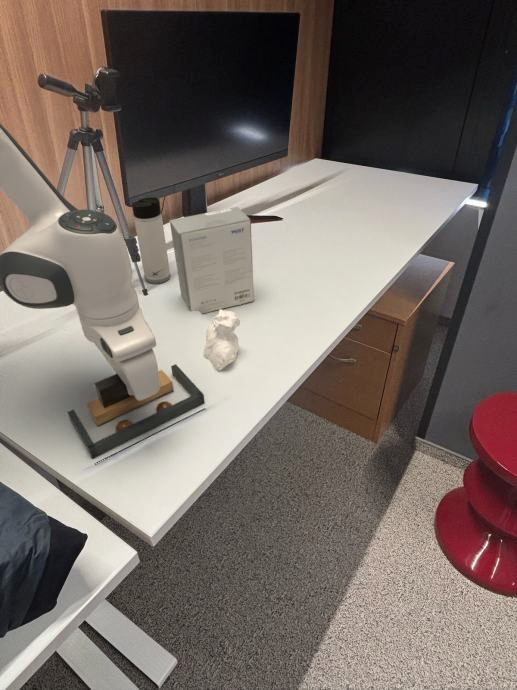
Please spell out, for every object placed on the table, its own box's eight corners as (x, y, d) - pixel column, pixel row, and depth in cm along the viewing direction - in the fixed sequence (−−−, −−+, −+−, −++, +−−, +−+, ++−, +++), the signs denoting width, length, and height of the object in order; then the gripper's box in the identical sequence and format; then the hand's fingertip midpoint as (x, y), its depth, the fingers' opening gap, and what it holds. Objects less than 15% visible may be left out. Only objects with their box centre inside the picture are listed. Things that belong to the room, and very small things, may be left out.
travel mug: (161, 286, 116) (148, 207, 104) (139, 280, 119) (124, 201, 106) (176, 275, 120) (166, 197, 108) (155, 269, 123) (143, 192, 111)
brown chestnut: (117, 430, 76) (110, 421, 78) (122, 444, 77) (115, 434, 79) (135, 422, 77) (127, 413, 79) (139, 436, 79) (132, 426, 81)
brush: (99, 430, 79) (89, 399, 75) (90, 416, 82) (80, 385, 77) (174, 394, 86) (169, 363, 81) (164, 382, 88) (158, 352, 84)
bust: (230, 385, 91) (265, 342, 87) (197, 373, 87) (231, 327, 83) (218, 348, 100) (248, 307, 96) (187, 335, 96) (217, 291, 92)
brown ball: (159, 413, 79) (151, 402, 81) (162, 425, 81) (154, 415, 83) (175, 405, 80) (167, 395, 82) (178, 417, 82) (169, 407, 84)
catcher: (94, 464, 74) (89, 450, 72) (72, 426, 81) (67, 411, 79) (205, 409, 83) (203, 394, 81) (178, 378, 90) (175, 363, 88)
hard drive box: (242, 286, 116) (239, 206, 103) (255, 301, 110) (252, 219, 98) (180, 300, 111) (168, 218, 99) (189, 317, 105) (178, 233, 93)
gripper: (67, 296, 78) (88, 361, 86) (118, 360, 64) (136, 430, 73) (104, 283, 80) (121, 348, 89) (160, 343, 67) (173, 412, 76)
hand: (128, 386), depth 81 cm, fingers closed on brush, 2 cm apart
